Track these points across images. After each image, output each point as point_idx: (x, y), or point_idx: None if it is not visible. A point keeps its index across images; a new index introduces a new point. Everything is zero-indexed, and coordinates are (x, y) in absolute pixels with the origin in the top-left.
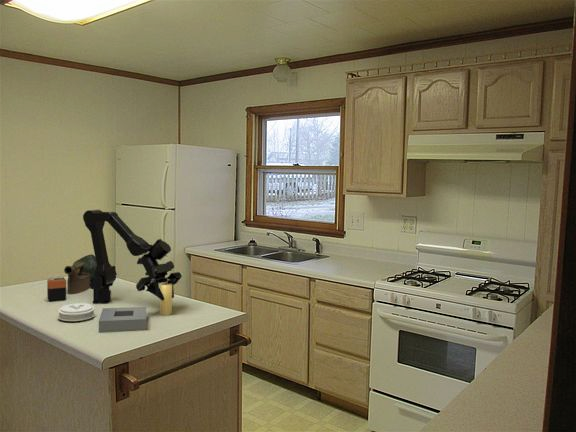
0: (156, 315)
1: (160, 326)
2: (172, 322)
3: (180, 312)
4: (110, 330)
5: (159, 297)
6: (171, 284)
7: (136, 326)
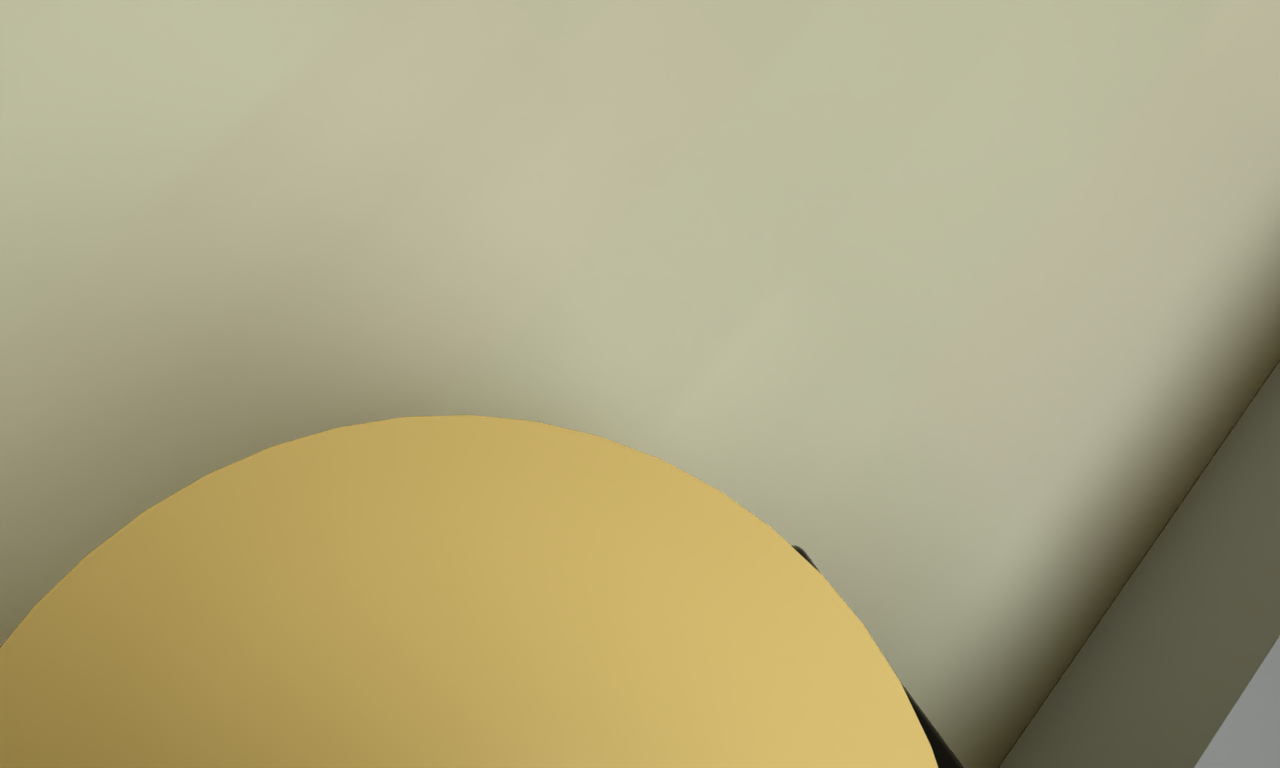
0: None
1: (1148, 83)
2: (841, 90)
3: None
4: None
5: None
6: (78, 648)
7: None
